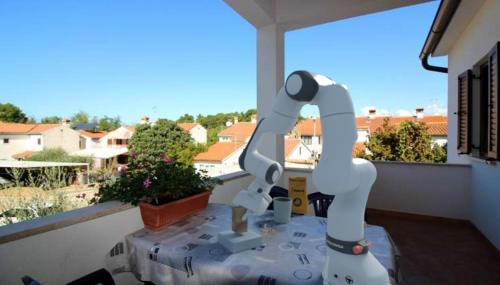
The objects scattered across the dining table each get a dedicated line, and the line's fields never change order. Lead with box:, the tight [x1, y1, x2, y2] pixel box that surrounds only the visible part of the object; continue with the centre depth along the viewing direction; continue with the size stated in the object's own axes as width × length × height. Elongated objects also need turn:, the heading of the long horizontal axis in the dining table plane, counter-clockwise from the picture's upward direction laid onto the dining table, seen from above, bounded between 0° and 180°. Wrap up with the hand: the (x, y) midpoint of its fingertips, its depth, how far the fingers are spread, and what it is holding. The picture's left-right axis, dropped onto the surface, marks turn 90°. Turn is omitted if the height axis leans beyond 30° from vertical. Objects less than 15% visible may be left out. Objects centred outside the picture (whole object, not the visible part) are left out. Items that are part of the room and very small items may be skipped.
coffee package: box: [287, 175, 309, 215], centre depth 158 cm, size 10×12×22 cm
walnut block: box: [231, 206, 249, 234], centre depth 112 cm, size 5×5×10 cm
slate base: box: [217, 228, 263, 254], centre depth 112 cm, size 14×14×4 cm
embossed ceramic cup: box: [272, 196, 292, 225], centre depth 142 cm, size 10×10×12 cm
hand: (238, 217), depth 112 cm, fingers closed on walnut block, 5 cm apart
